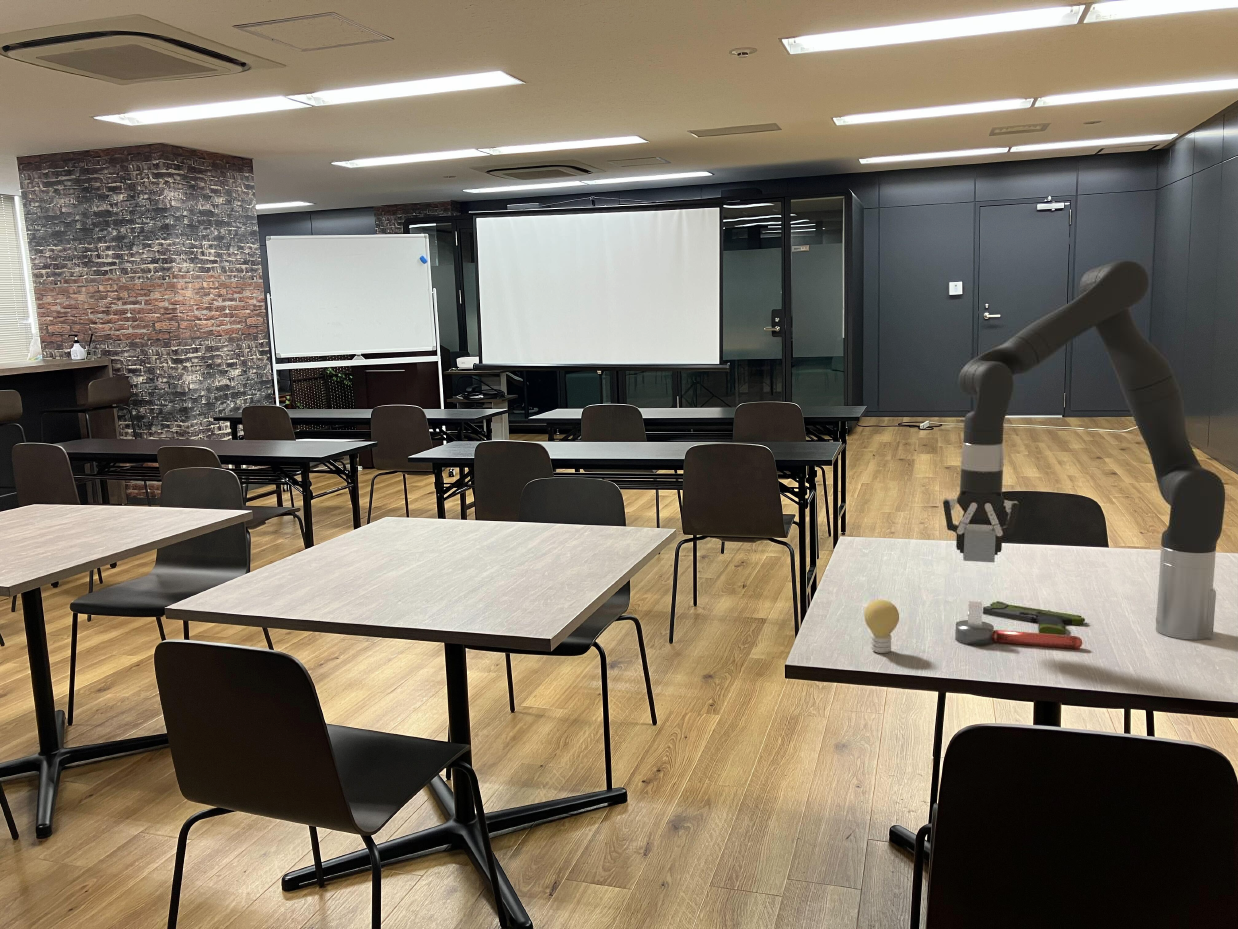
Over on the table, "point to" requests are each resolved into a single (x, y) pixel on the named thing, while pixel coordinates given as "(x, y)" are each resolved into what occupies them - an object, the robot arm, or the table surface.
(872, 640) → the light bulb
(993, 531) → the grey bevelled cube
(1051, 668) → the table surface
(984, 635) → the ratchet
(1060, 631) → the gun
